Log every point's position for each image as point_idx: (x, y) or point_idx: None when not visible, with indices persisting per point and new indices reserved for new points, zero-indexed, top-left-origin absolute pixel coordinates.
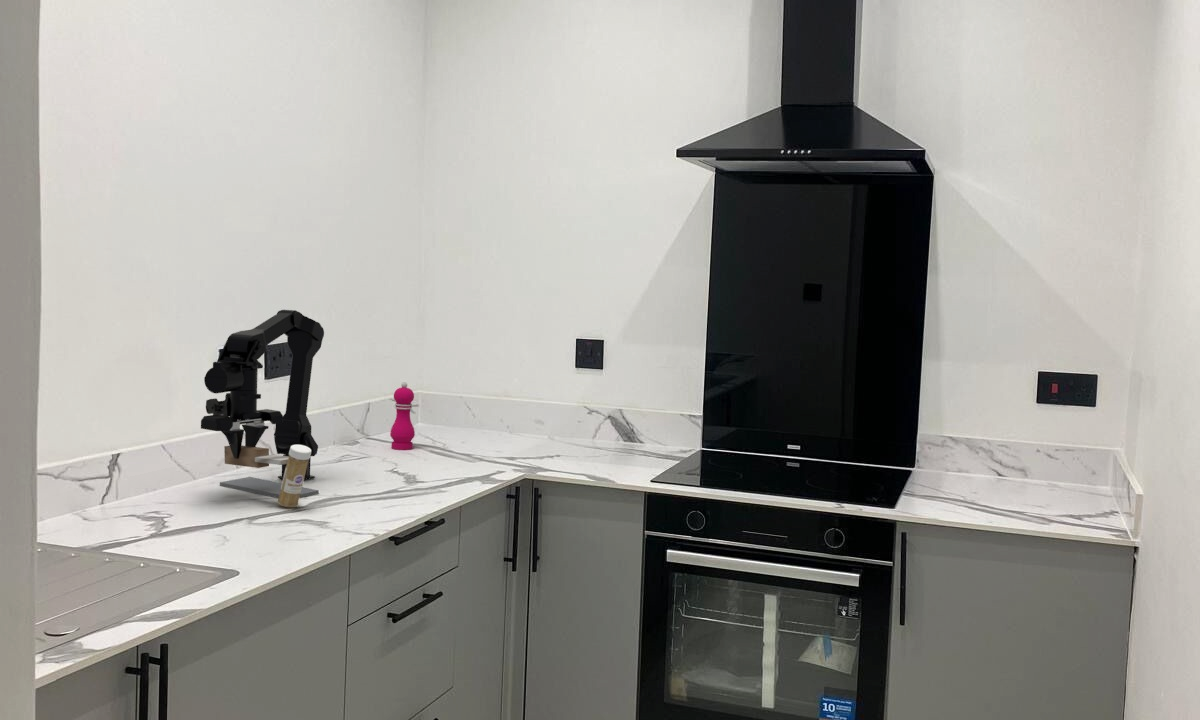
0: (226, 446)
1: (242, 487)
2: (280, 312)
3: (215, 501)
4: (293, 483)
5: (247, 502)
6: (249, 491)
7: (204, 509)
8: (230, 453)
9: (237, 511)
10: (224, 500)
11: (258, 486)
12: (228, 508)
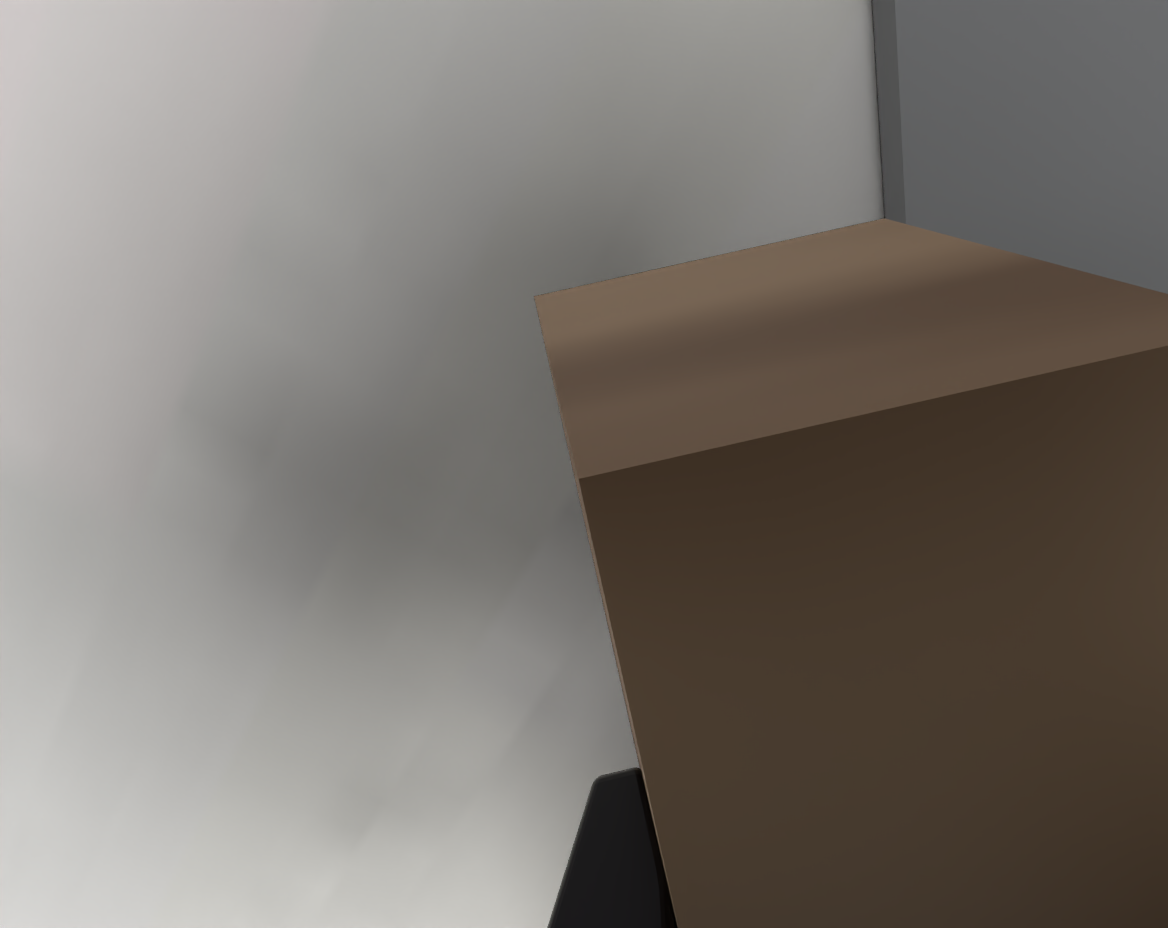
0: (615, 609)
1: (892, 48)
2: None
3: (257, 460)
4: None
5: (547, 672)
6: (887, 198)
7: (9, 730)
8: (618, 665)
9: (288, 916)
10: (376, 468)
11: (1076, 158)
12: (259, 796)
